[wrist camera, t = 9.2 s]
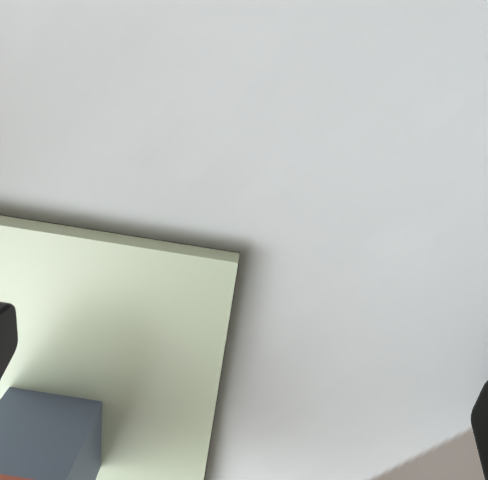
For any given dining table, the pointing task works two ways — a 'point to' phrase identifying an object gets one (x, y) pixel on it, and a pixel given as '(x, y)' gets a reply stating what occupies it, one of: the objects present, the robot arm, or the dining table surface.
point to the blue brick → (49, 436)
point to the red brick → (12, 477)
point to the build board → (122, 337)
